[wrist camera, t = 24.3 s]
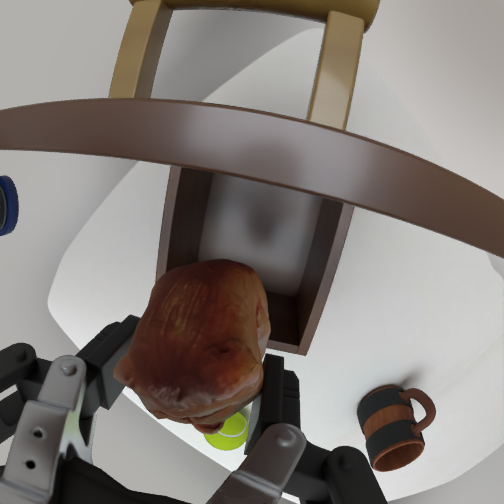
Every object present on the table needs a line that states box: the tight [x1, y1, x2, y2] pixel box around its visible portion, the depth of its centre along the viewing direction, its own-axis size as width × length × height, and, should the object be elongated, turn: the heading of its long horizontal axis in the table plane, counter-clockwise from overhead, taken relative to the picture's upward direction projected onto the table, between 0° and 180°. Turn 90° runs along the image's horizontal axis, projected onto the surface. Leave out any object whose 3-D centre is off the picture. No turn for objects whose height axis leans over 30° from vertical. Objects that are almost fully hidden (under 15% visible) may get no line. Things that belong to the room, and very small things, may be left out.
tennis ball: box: [204, 412, 249, 450], centre depth 36 cm, size 7×7×7 cm
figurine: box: [113, 259, 271, 435], centre depth 14 cm, size 6×8×15 cm
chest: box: [155, 166, 355, 356], centre depth 26 cm, size 16×14×11 cm
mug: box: [357, 386, 436, 472], centre depth 30 cm, size 9×12×12 cm
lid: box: [0, 0, 504, 259], centre depth 10 cm, size 17×14×5 cm
